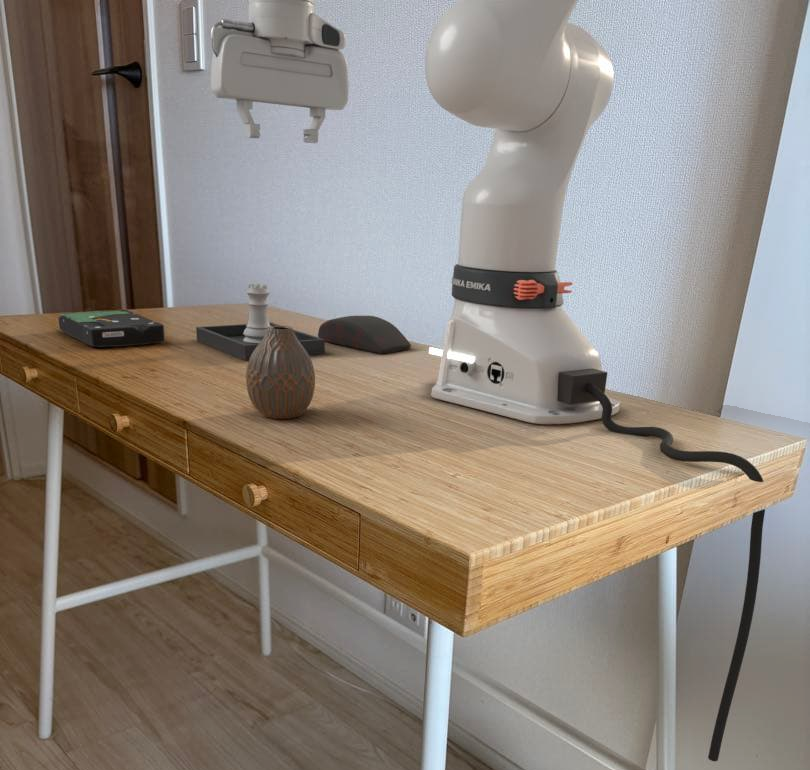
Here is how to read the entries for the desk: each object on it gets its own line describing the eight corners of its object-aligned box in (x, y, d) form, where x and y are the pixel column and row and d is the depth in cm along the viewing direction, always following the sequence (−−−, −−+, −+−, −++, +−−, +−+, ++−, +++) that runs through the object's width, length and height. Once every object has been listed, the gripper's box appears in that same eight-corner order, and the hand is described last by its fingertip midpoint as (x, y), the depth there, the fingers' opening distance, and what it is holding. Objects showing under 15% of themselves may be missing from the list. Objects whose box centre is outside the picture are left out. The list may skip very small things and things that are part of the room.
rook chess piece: (278, 341, 120) (277, 284, 116) (270, 347, 115) (269, 287, 112) (247, 339, 120) (246, 282, 117) (239, 345, 116) (237, 285, 113)
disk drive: (167, 344, 117) (127, 326, 127) (166, 324, 116) (125, 308, 126) (93, 350, 111) (57, 331, 121) (91, 329, 110) (55, 311, 120)
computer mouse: (348, 335, 130) (349, 309, 129) (415, 349, 122) (416, 321, 121) (311, 340, 125) (311, 313, 123) (378, 355, 117) (379, 326, 115)
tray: (324, 353, 116) (324, 339, 115) (245, 360, 109) (245, 345, 108) (271, 335, 127) (271, 322, 126) (196, 341, 120) (196, 327, 119)
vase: (276, 427, 81) (275, 335, 78) (233, 412, 85) (230, 325, 82) (328, 415, 86) (329, 329, 82) (285, 402, 90) (284, 319, 86)
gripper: (221, 13, 105) (225, 134, 110) (355, 36, 117) (353, 145, 122) (200, 18, 110) (204, 135, 115) (331, 40, 121) (330, 145, 127)
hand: (282, 140), depth 119 cm, fingers open, 8 cm apart
